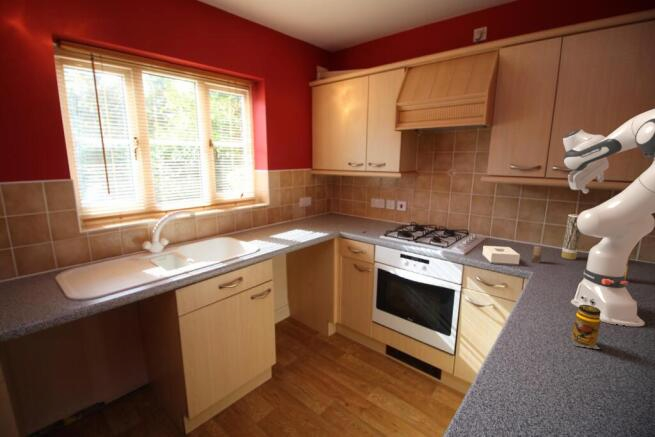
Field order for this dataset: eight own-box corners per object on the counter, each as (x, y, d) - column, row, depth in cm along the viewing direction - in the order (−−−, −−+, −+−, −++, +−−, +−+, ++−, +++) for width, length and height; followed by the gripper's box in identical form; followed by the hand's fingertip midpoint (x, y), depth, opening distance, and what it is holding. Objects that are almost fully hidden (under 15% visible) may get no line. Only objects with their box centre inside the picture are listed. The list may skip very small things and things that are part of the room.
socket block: (518, 265, 169) (520, 254, 167) (490, 263, 171) (491, 253, 169) (508, 257, 182) (509, 247, 181) (482, 255, 184) (483, 245, 183)
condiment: (575, 347, 98) (582, 311, 96) (563, 332, 106) (569, 299, 104) (603, 351, 96) (611, 315, 94) (589, 335, 104) (596, 302, 102)
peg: (541, 263, 172) (544, 247, 170) (533, 263, 173) (536, 247, 171) (538, 261, 176) (540, 245, 174) (530, 260, 177) (532, 245, 175)
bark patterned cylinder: (570, 256, 185) (578, 214, 180) (578, 260, 178) (586, 216, 173) (558, 255, 185) (565, 214, 180) (565, 259, 179) (573, 216, 174)
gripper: (573, 175, 144) (584, 199, 148) (606, 150, 146) (616, 175, 150) (560, 174, 151) (571, 198, 154) (592, 150, 152) (602, 174, 156)
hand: (593, 186), depth 152 cm, fingers open, 8 cm apart
